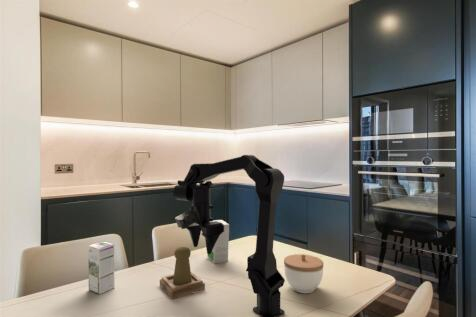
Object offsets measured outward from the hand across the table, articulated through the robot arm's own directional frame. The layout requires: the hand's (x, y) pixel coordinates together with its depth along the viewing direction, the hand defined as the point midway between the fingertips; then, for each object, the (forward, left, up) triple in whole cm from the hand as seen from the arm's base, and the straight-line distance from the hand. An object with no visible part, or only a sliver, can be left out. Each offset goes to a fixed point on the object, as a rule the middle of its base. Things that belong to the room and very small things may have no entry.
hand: (202, 250), depth 95 cm
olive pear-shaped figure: (+4, +5, -11) cm, 12 cm away
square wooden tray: (+4, +5, -12) cm, 14 cm away
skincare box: (+20, -18, -13) cm, 30 cm away
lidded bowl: (-18, -28, -13) cm, 35 cm away
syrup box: (+17, +27, -13) cm, 34 cm away
